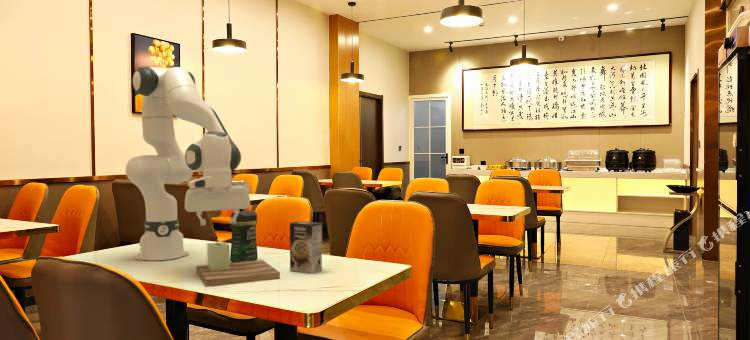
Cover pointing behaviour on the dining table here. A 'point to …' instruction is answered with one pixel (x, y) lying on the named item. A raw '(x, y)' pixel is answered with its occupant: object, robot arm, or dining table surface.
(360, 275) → the dining table surface
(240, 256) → the coffee jar
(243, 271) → the post board
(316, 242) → the coffee box
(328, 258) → the dining table surface
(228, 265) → the beige piece
